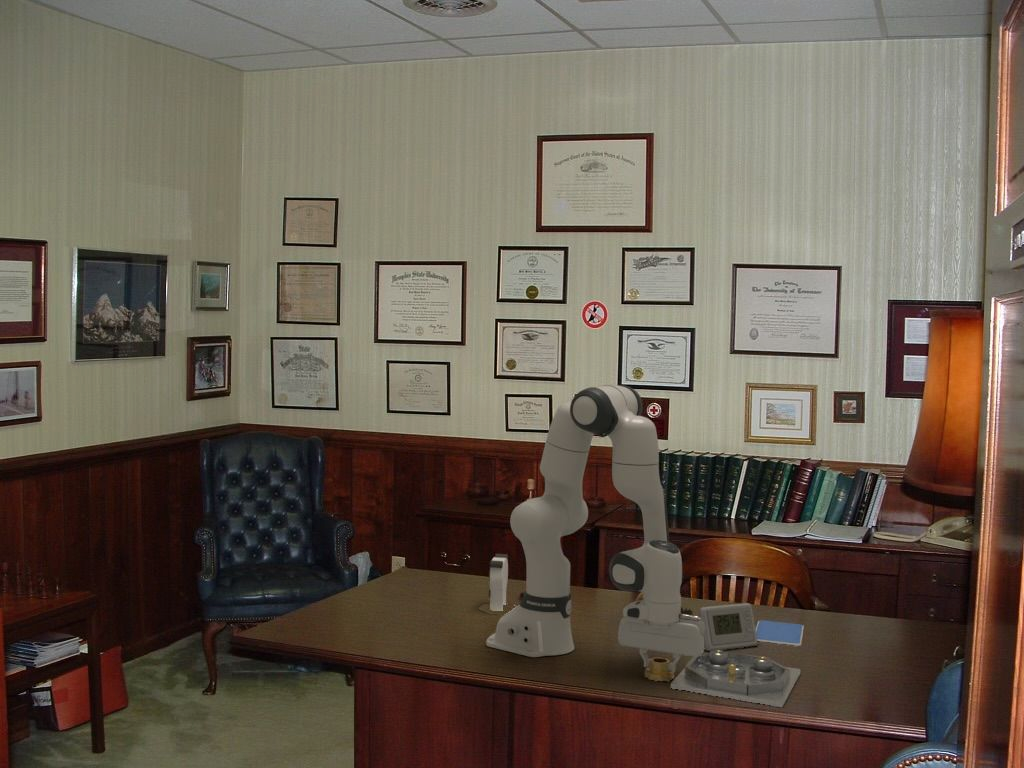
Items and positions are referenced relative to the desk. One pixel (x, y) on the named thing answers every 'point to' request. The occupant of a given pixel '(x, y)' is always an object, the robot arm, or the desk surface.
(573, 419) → the robot arm
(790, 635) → the tablet computer
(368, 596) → the desk surface
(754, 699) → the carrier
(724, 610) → the digital clock
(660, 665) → the flanged octagonal bushing
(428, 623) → the desk surface
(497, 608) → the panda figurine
